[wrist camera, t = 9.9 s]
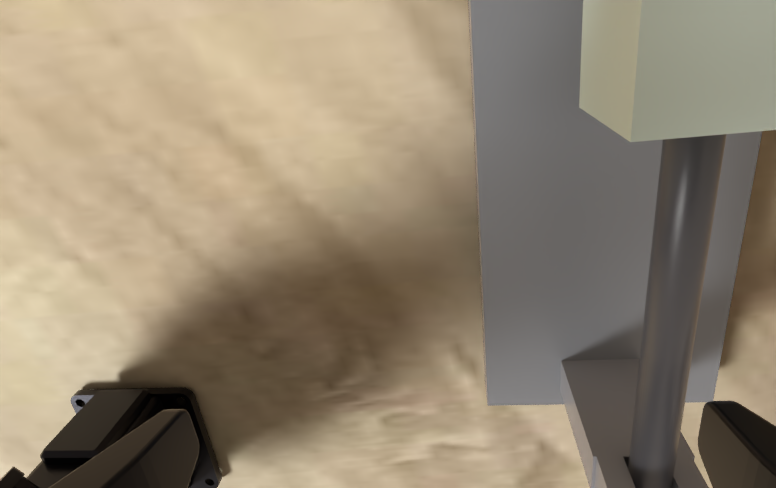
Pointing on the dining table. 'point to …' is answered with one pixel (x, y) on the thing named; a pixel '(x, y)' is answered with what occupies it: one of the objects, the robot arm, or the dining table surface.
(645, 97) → the sleeve
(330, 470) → the dining table surface
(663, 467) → the axle rod stand
